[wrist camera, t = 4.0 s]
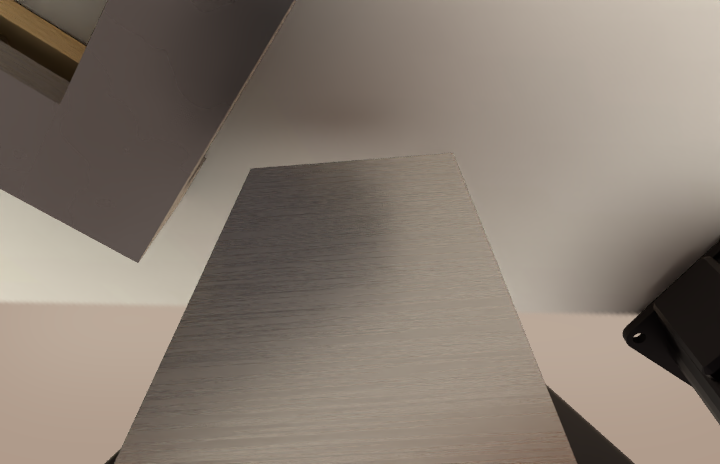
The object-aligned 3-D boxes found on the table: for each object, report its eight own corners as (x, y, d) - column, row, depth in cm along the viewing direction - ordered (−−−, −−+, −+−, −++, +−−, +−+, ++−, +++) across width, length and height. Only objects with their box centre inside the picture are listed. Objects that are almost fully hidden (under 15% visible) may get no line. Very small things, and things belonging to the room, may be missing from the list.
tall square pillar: (452, 152, 12) (918, 1318, 2) (455, 320, 13) (702, 1361, 4) (243, 169, 12) (-327, 1321, 2) (273, 332, 14) (49, 1355, 4)
